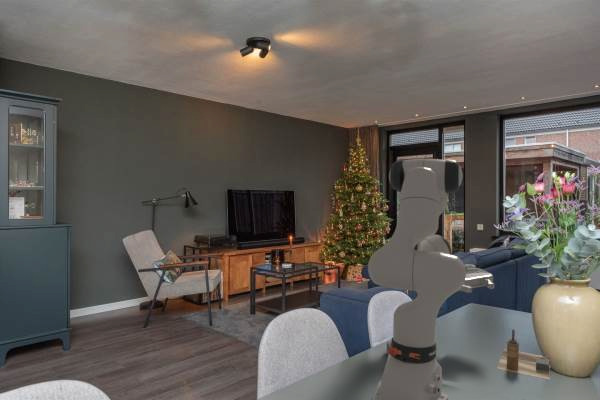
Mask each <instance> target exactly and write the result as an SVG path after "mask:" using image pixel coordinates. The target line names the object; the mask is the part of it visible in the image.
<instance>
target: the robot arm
mask: <svg viewBox="0 0 600 400" xmlns="http://www.w3.org/2000/svg"><path fill="white" fill-rule="evenodd" d="M463 177H464V176H463V171H462V167H461V166H460V163H459V162H458V161H457V160H455V159H449V158H446V159H438V158H414V159H413V158H411V159H407V160H405V159H400V160H396V161H394V162H393V164H392V165H391V166H390V170H389V173H388V179H389V183H390V186H391V188H392V190H394V191H395V192H398V193H400V196H399V210H398V216H397V221H396V227H395V230H394V232H393V234H392V236H391V237H390V239H389V240H388V241H387V242H386V243H385V244H384V245H383V246H381V247H379V249H377V250H376V251H374V252H373V253H372V254H371V256H370V258H369V261H368V263H367V272H368V276H369V278H370V280H371V281H372V283H374V284H375V285H377V286H381V287H384V288H388V289H391V290H392V289H395V290H403V291H404V290H405V291H414V292H416V293H417V296H416V297H415V298H414V299H412V300H410V301H409V300H408V301H407V302H404V303H402V304H400V305H399V306H397V308H396V309H395V310H394V313H393V319H392V320H393V323H392V325H393V326H392V327H393V329H392V330H393V331H392V333H393V334H392V337H391V340H390V342H391V345H390V347H389V350H388V353H389V355H388V354H387V360H386V364H385V366H384V370H383V373H382V376H381V379H379V381H378V384H377V386H376V389H375V391H374V393H373V395H372V396H373V397H372V398H371V400H449V396H448V395H447V394H446V393H444V392H443V371H442V366H441V365H440V364H439V363H438V361H437V359H436V358H437V351H438V348H437V342H436V326H437V318H438V314H439V311H440V309H441V307H442V306H443V304H444V303H445V302H446V300H447V299H448V298H449V297H451V296H452V295H454V294H455V293H457V292H465V293H467V294H468V293H473V289H476V288H480V287H481V288H482V287H487V288H488V289H490V290H493V289H495V283H494V275H493V274H492V273H491V272H490V271H489V272H488V271H486V270H484V269H482V268H478V267H476V265H474V264H469V263H467V264H466V263H465V264H464V262H463V261H462V260H461V259H460V257H459V256H457V255H454V254H452V248H451V245H450V243H449V241H448V240H447V239H446V238H445V237H443V236H441V235H439V234H436V233H437V232H438V229H439V223H440V221H439V220H440V216H441V214H442V213H443V212H444V211H445V210H446V206H447V199H448V198H447V195H448V194H452V193H455V192H457V191H458V190H459V189H460V186H461V185H462V182H463Z"/></svg>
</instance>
